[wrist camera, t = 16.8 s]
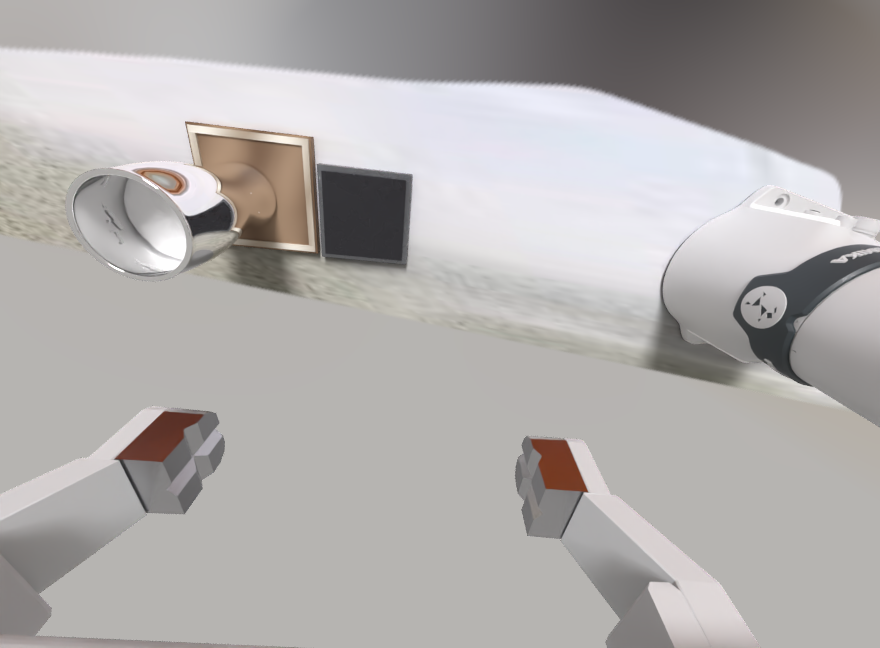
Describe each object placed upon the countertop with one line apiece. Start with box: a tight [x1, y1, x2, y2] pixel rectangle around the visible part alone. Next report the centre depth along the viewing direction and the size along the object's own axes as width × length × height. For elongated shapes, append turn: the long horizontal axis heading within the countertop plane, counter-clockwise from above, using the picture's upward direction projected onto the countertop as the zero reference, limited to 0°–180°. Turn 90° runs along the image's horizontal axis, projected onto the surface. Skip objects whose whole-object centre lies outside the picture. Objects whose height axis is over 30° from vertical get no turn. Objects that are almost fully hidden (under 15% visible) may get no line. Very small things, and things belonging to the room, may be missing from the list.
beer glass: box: [65, 161, 276, 281], centre depth 26 cm, size 7×7×15 cm
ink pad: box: [317, 164, 412, 264], centre depth 34 cm, size 9×9×2 cm
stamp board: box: [185, 122, 320, 254], centre depth 33 cm, size 11×11×1 cm
